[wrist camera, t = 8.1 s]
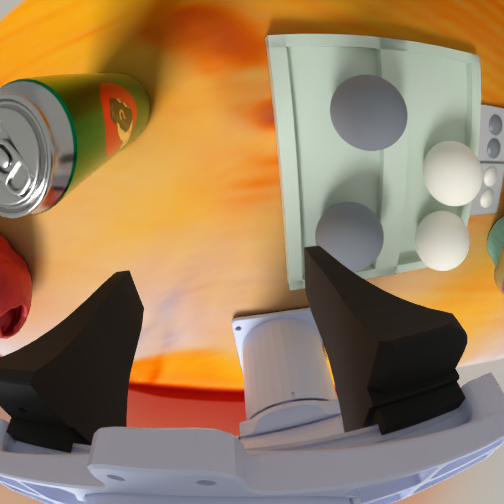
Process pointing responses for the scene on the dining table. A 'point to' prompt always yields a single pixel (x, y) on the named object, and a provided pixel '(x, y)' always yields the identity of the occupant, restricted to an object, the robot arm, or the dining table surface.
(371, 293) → the robot arm
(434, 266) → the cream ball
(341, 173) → the rack
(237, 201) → the dining table surface
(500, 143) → the card
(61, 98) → the soda can
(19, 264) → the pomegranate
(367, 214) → the charcoal ball back
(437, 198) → the cream ball middle
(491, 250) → the cupcake
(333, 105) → the charcoal ball front
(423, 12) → the dining table surface
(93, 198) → the dining table surface
